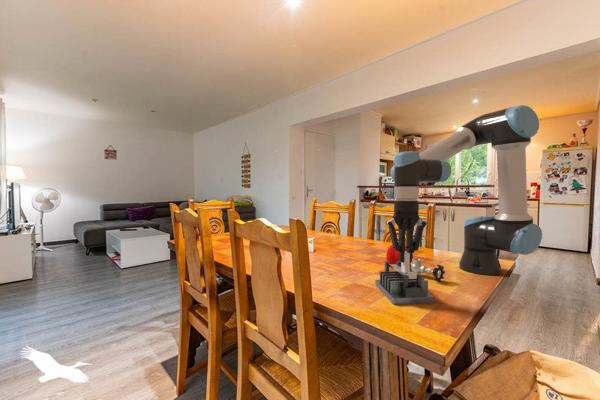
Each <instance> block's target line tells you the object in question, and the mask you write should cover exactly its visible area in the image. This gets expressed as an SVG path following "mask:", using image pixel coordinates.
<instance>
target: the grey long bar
mask: <svg viewBox="0 0 600 400" xmlns="http://www.w3.org/2000/svg"><path fill="white" fill-rule="evenodd" d="M389 268H391V269H392V270H393V271H397V272H399V273H400V274H402V275H407V276H408V279H417V272H408V273H404V272H402V271H401V267H400V266H398V265H396V264H393V265H390V264H389Z"/></svg>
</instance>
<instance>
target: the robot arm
mask: <svg viewBox="0 0 600 400" xmlns="http://www.w3.org/2000/svg"><path fill="white" fill-rule="evenodd" d="M539 128H540V119H539V117H538V114H537V113H536V111H535V110H534V109H533V108H532V107H530V106H529V105H524V104H523V105H522V104H521V105H515V106H514V105H513V106H508V107H506V108H503V109H500V110H496V111H493V112H489V113H484V114H481V115H479V116H477V117H475V118H473V119H472V120H471V121H468V122H467V123H465V124H463V125H462V126H459V127H457V129H456V130H454V133H452V134H451V135H449V136H448V137H445V138H444V139H443V140H441V141H439V142H437V143H435V144H433V145H432V146H430V147H428V148H427V149H425V150H423V151H421V152H420V153H419V152H418V151H414V150H413V151H412V150H411V151H408V150H407V151H399V152H397V153H396V154H395V157H394V163H393V166H392V167H391V169H390V177H391V179H392V180H393V182H394V187H393V189H394V190H393V192H394V194H393V197H394V199H395V200H394V202H393V216H392V218H391V219H390V220H386V221H385V224H386V227H387V228H388V232H389V236H390V240H391V245H393V249H395V250H397V251H399V261H400V262H401V271H402V272H404V273H408V272H409V271H411V270H410V269H411V266H410V264H411V263H412V253H413V254H414V252H415V251H419V248H420V243H421V240H422V236H423V232H424V228H425V227H426V226H427V222H426V220H425V221H424V220H422V219H421V218H420V214H419V211H420V209H419V208H420V207H419V205H420V202H419V200H418V199H420V183H444V182H446V181H448V179H449V178H450V177H451V175H452V166H451V164H450V162H448V161H447V160H449V159H451V158H453V157H454V156H456V155H458V154H459V153H461V152H462V151H464V150H470V149H473V148H474V147H477V146H480V145H486V144H491V148H492V149H493V150H495V151H496V165H497V167H496V170H497V192H498V193H497V194H498V195H497V196H498V198H497V199H498V213H497V214H496V215H487V216H485V215H484V216H468V217H466V218H465V220H464V226H463V227H464V229H463V230H464V234H463V238H464V239H463V242H464V244H463V245H464V247H463V248H464V249H463V252H462V255H461V257H460V260H459V264H458V265H459V267H458V268H459V269H460V270H462V271H464V272H469V273H472V274H478V275H490V276H492V275H493V276H494V275H500V274H502V265H501V264H500V260H499V259H500V258H499V257H498V255H497V254H498V253H497V250H499V251H504V252H508V253H512V254H515V255H522V256H523V255H527V256H528V255H531V254H532V253H534V252H535V251H536V250H537V249H538V247H539V246H540V245H541V243H542V239H543V231H542V228H541V227H540V225H538V224H536V223H534V217H533V216H532V215H530V214H529V213H528V189H527V188H528V183H527V153H526V152H527V151H526V148H527V147H528V146H529V145H530V144H531V143H532V141H531V139H532V138H533V137H534V136H536V134H538V130H539ZM395 226H397V229H396V227H395ZM415 226H416V227H415ZM396 230H398V235H397V231H396ZM405 245H406V250H407V252H406V251H405ZM410 262H411V263H410Z"/></svg>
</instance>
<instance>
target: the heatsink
mask: <svg viewBox="0 0 600 400" xmlns="http://www.w3.org/2000/svg"><path fill="white" fill-rule="evenodd" d="M389 265H390V264H389V262H388V261H387V260H386V261H384V271H379V279H375V281H374V282H375V286H376V288H377V289H378V290H379V291H380V292H381V293H382V294H383V295H384V296H385V297H386V298H387V300H389V302H391V304H392V305H395V306H396V305H420V304H421V305H423V304H435V302H436V298H435V297H436V296H434V295H433V294H432V293H430V291H429V280H428V279H425V278H424V277H423V275H422V274H421V275H420V274H417V279H408V276H407V275H402V274H400V273H399V272H397V271H396V270H392V271H391V270H390V267H389ZM396 265H398V266H400V267H401V262H400V261H396ZM409 272H414V271H412V270H410V271H409Z"/></svg>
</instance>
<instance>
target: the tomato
mask: <svg viewBox="0 0 600 400" xmlns="http://www.w3.org/2000/svg"><path fill="white" fill-rule="evenodd" d="M405 251H406V252H407V250H406V244H405ZM413 254H414V253H412V259H414V255H413ZM385 259H386V261H388V262H389V265H393V264H396V261H399V251H397V250H395V249H393V245H392V244H391V245H389V247H388V248H387V251H386V258H385ZM410 264H412V262H410Z"/></svg>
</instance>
